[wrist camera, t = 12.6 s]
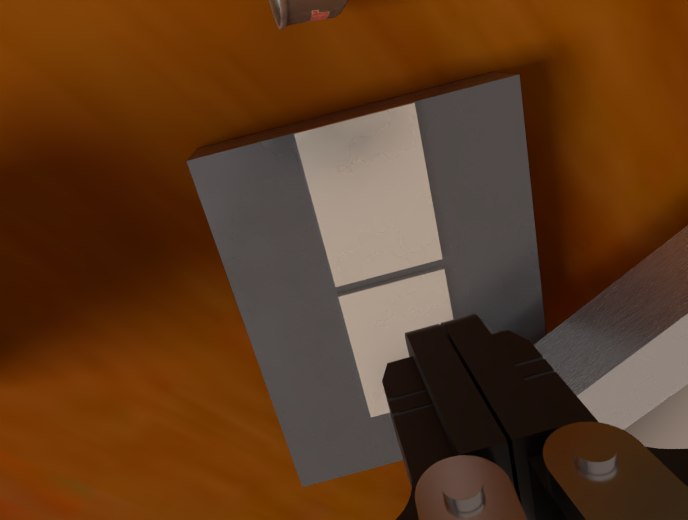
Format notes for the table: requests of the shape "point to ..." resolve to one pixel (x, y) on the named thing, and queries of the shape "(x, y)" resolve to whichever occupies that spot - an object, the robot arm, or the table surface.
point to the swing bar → (628, 339)
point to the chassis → (372, 251)
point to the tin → (304, 10)
